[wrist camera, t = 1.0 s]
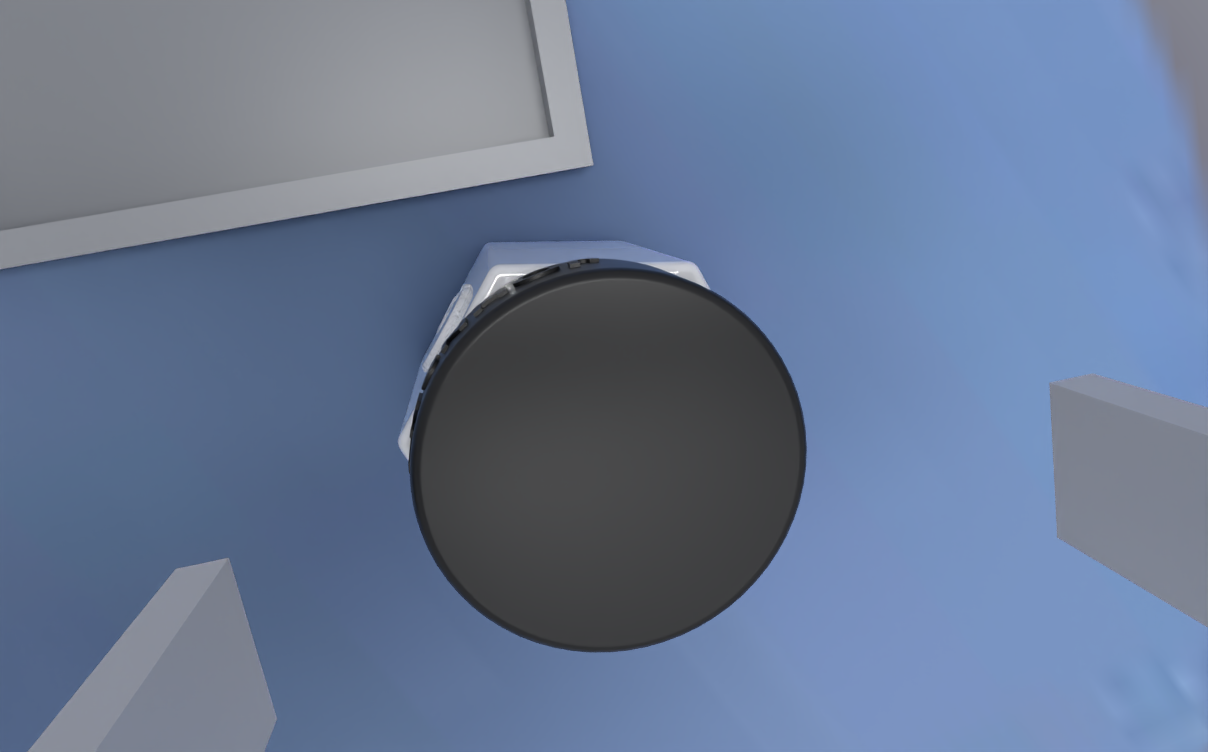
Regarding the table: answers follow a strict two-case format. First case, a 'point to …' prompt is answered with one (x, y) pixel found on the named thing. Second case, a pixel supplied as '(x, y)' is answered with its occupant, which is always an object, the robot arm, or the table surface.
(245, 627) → the robot arm
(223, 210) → the divided grey tray
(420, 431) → the jar
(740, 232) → the table surface
